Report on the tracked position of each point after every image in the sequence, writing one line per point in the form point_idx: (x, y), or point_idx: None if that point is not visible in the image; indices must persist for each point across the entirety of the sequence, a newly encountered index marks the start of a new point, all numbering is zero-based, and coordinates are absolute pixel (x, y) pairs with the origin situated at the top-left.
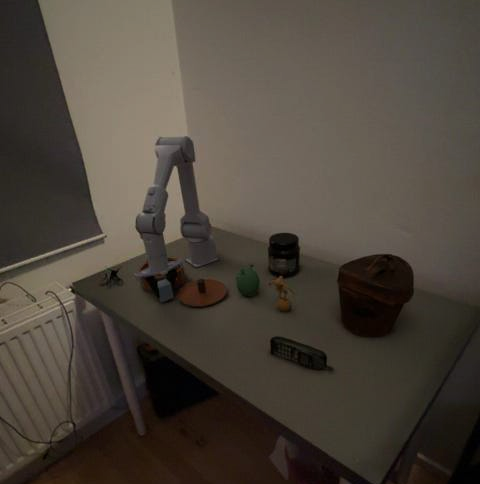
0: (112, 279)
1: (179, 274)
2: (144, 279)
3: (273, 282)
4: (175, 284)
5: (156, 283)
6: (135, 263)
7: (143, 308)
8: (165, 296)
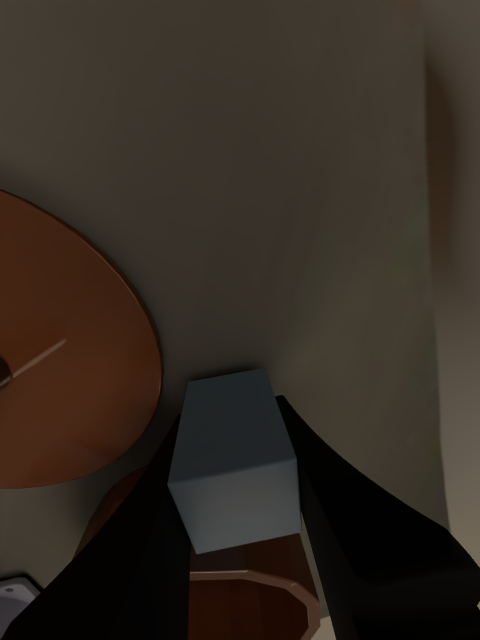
0: None
1: None
2: (305, 566)
3: None
4: None
5: (347, 523)
6: None
7: (346, 373)
8: (238, 392)
